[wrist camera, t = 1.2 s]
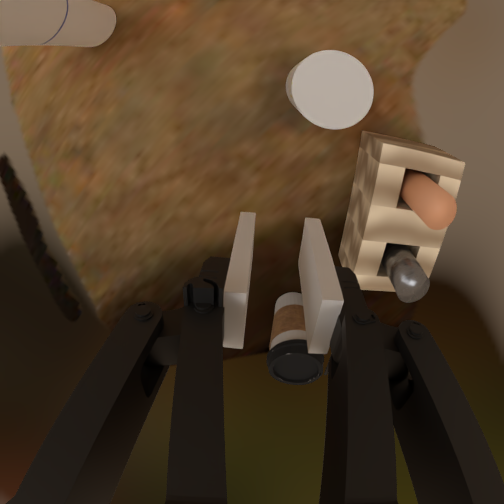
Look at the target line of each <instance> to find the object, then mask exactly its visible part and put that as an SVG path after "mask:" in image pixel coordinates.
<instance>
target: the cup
mask: <svg viewBox="0 0 504 504" xmlns="http://www.w3.org/2000/svg"><path fill="white" fill-rule="evenodd" d="M286 92H287V96H288V98H289V100H290V102H291V103H292V105H293V106H294V107H295V108H296V109H297V110H298V111H299V112H300V113H301V114H302V115H303V116H304V117H305V118H306V119H308V120H309V121H310V122H312V123H314V124H315V125H317V126H320V127H323V128H327V129H344V128H347V127H350V126H353V125H354V124H356V123H358V122H359V121H360V120H362V119H363V118H364V116H365V115H366V114H367V113H368V111H369V109H370V107H371V104H372V101H373V95H374V90H373V83H372V80H371V77H370V75H369V73H368V71H367V70H366V68H365V67H364V66H363V65H362V63H361V62H359V61H358V60H357V59H356V58H354V57H353V56H351V55H349V54H347V53H344V52H341V51H336V50H324V51H319V52H316V53H314V54H312V55H310V56H308V57H307V58H305V59H304V60H302V61H301V62H300V63H298V64H297V65H295V66H294V67H293V68H292V70H291V71H290V73H289V74H288V77H287V80H286Z"/></svg>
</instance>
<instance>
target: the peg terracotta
mask: <svg viewBox="0 0 504 504" xmlns="http://www.w3.org/2000/svg"><path fill="white" fill-rule="evenodd" d="M399 196H400V197H401V198H402V199H403V200H404V201H405V202H406V203H407V204H408V205H409V207H410V208H411V209H412V210H413V211H414V212H415V213H416V214H417V215H418V216H419V217H420V218H421V220H422V221H423V222H424V223H425V224H426V225H427V226H428V227H429V228H430V229H433V230H441V229H444V228H446V227H447V226H448V225H449V224H451V222H452V221H453V219H454V218H455V215H456V211H457V205H456V201H455V199H454V197H453V196H452V195H451V194H449V193H448V192H447V191H445V190H444V189H443V188H442V187H440V186H439V185H438V184H436V183H435V182H434V181H432V180H431V179H430V178H428V177H427V176H426V175H424V174H423V173H422V172H420V171H418V170H413V169H408V168H406V169H405V172H404V177H403V181H402V186H401V190H400V194H399Z"/></svg>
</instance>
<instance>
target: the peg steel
mask: <svg viewBox="0 0 504 504" xmlns="http://www.w3.org/2000/svg"><path fill="white" fill-rule="evenodd" d="M381 263H382V265H383V267H384V269H385V271H386V273H387V275H388V277H389V279H390V281H391V283H392V285H393V287H394V289H395V291H396V293H397V295H398V297H399V299H400V300H401V301H403V302H408V303H409V302H414V301H417V300H419V299H420V298H422V297H423V296H424V295H425V294H426V292H427V291H428V289H429V284H430V282H429V278H428V277H427V275H426V274H425V272H424V270H423V269H422V267H421V266H420V264H419V263H418V261H417V260H416V258H415V257H414V255H413V254H412V252H411V251H410V249H409V248H408V246H407V245H404V244H395V243H386V247H385V250H384V253H383V257H382V260H381Z"/></svg>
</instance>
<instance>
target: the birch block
mask: <svg viewBox="0 0 504 504" xmlns="http://www.w3.org/2000/svg"><path fill="white" fill-rule="evenodd" d="M464 166H465V163H464V162H463V161H461V160H459V159H457V158H456V157H454V156H452V155H450V154H448V153H446V152H444V151H443V150H441V149H439V148H437V147H435V146H431V145H427V144H423V143H419V142H415V141H411V140H407V139H402V138H398V137H393V136H388V135H383V134H378V133H373V132H368V131H362V134H361V141H360V147H359V153H358V159H357V165H356V171H355V176H354V182H353V187H352V192H351V198H350V203H349V208H348V213H347V217H346V222H345V227H344V232H343V236H342V241H341V245H340V249H339V254H338V256H339V259H340V262H341V265H342V267H349V268H350V269H351V270H352V271H353V272H354V273H355V274H356V277H357V280H358V283H359V285H360V289H361V290H376V291H394V292H396V291H395V289H394V287H393V285H392V283H391V281H390V279H389V277H388V275H387V273H386V271H385V269H384V267H383V265H382V263H381V260H382V257H383V253H384V250H385V247H386V243H395V244H404V245H407V246H408V248H409V249H410V251H411V252H412V254H413V255H414V257H415V258H416V260H417V261H418V263H419V264H420V266H421V267H422V269H423V270H424V272H425V274H426V275H427V277H428V278H429V276H430V274H431V271H432V269H433V266H434V263H435V261H436V258H437V255H438V253H439V250H440V247H441V244H442V241H443V239H444V236H445V233H446V230H447V227H448V226H447V227H446V228H444V229H441V230H433V229H430V228H429V227H428V226H427V225H426V224H425V223H424V222H423V221H422V220H421V218H420V217H419V216H418V215H417V214H416V213H415V212H414V211H413V210H412V209H411V208H410V207H409V205H408V204H407V203H406V202H405V201H404V200H403V199H402V198H401V197H400V196H399V194H400V190H401V186H402V181H403V177H404V172H405V168H408V169H413V170H418V171H420V172H422V173H423V174H424V175H426V176H427V177H428V178H430V179H431V180H432V181H434V182H435V183H436V184H438V185H439V186H440V187H442V188H443V189H444V190H445V191H447V192H448V193H449V194H451V195H452V196H453V197H454V199H455V201H456V197H457V194H458V190H459V186H460V182H461V179H462V175H463V170H464Z"/></svg>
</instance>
